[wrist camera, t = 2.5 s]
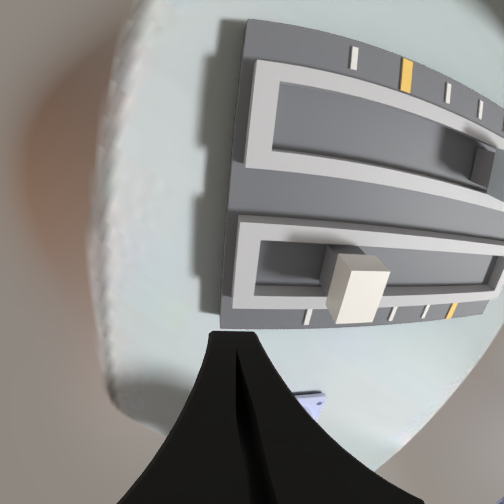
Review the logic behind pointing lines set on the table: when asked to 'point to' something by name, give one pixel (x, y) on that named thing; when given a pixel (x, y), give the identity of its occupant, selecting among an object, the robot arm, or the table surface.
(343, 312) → the fader
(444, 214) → the console
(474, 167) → the fader
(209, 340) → the robot arm
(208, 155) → the table surface
